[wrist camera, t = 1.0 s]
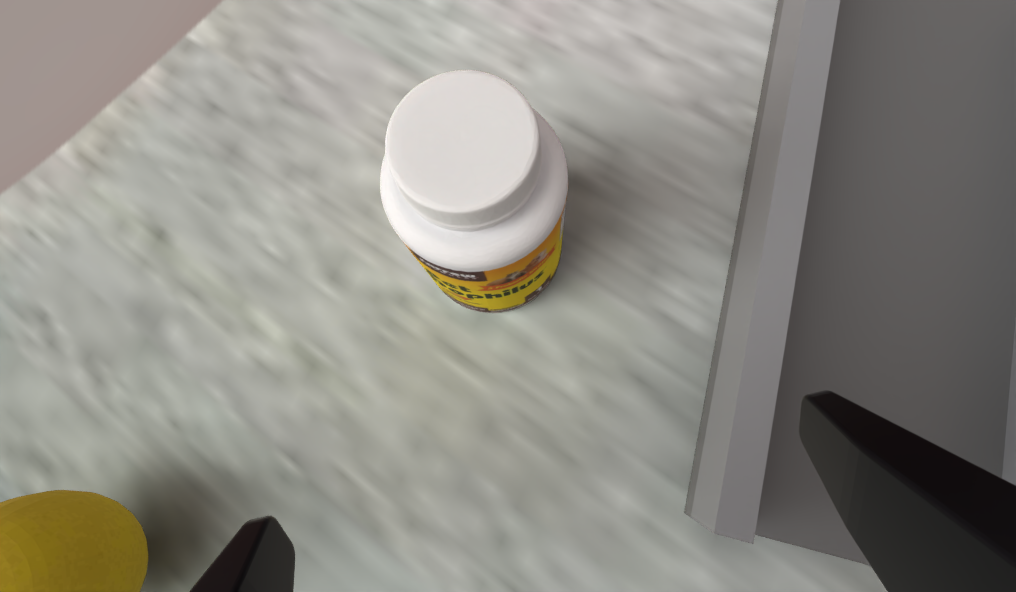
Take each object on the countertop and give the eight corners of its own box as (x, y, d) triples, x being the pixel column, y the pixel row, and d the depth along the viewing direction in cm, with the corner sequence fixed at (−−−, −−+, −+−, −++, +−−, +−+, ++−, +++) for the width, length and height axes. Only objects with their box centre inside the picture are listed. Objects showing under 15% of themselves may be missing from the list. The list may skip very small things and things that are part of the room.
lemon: (212, 500, 23) (41, 542, 15) (161, 647, 22) (-49, 773, 14) (90, 463, 24) (-134, 485, 16) (35, 604, 23) (-232, 701, 15)
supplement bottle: (429, 318, 24) (345, 247, 14) (431, 192, 25) (355, 44, 15) (564, 315, 24) (575, 240, 14) (560, 187, 25) (568, 33, 15)
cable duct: (1007, 598, 21) (1114, 641, 17) (684, 512, 22) (713, 533, 18) (1053, 14, 25) (1147, -61, 21) (783, -28, 26) (824, -106, 22)
